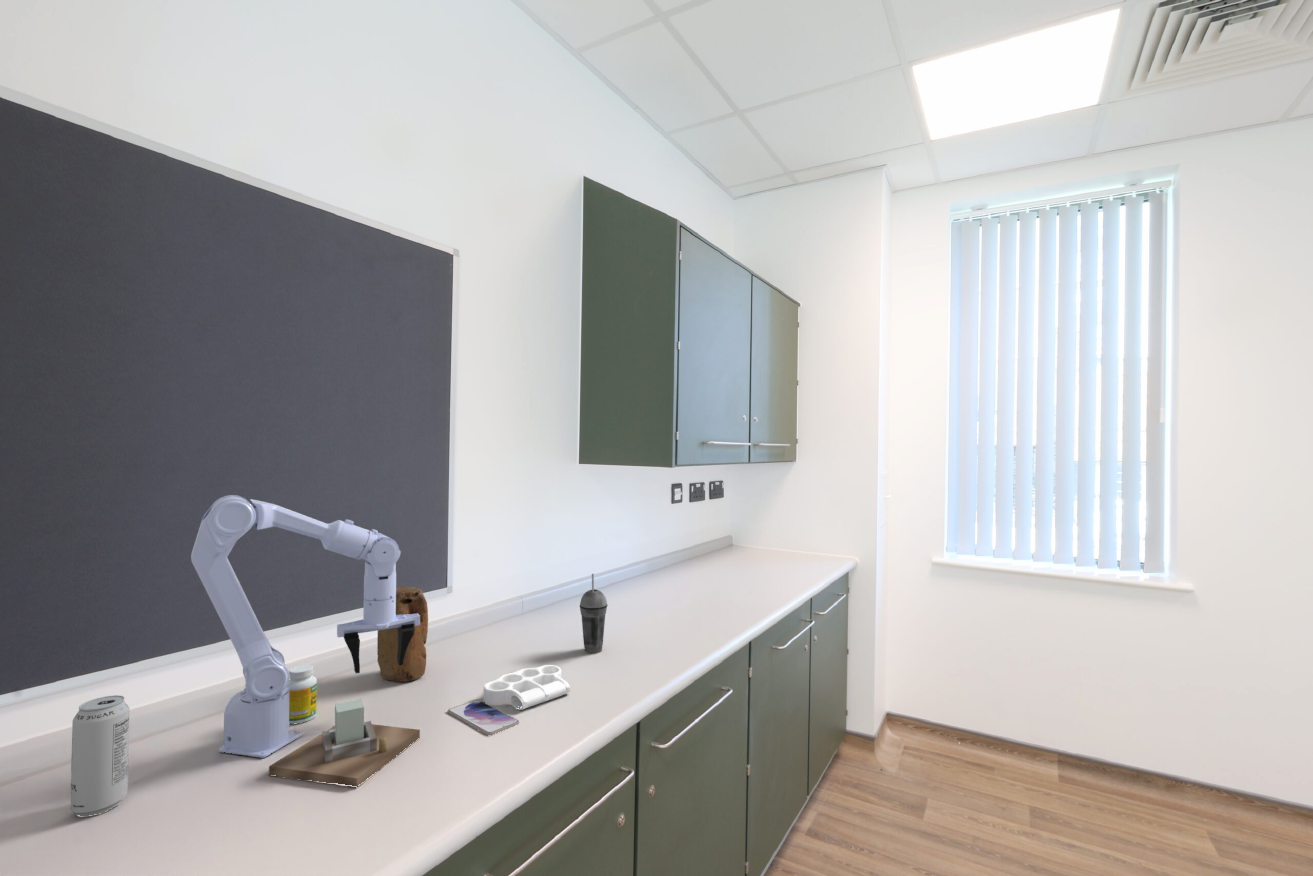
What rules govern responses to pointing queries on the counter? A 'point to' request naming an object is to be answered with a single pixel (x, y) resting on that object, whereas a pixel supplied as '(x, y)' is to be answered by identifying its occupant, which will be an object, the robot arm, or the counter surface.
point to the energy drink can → (99, 755)
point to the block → (415, 656)
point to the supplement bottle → (302, 694)
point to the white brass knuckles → (526, 687)
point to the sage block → (349, 721)
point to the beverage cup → (593, 619)
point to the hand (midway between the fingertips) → (379, 667)
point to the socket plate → (344, 767)
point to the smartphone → (483, 717)
